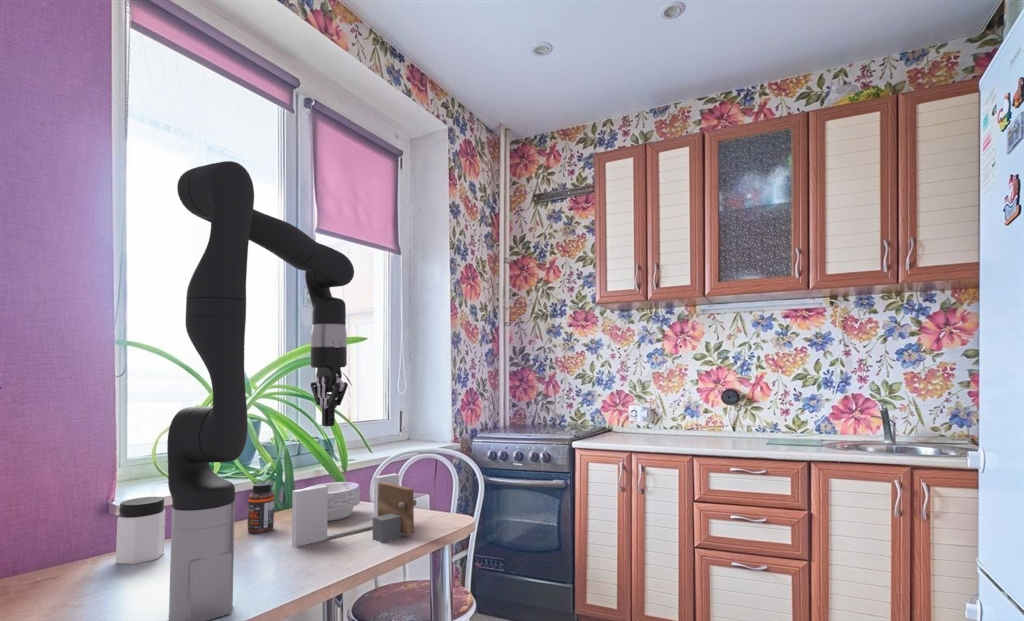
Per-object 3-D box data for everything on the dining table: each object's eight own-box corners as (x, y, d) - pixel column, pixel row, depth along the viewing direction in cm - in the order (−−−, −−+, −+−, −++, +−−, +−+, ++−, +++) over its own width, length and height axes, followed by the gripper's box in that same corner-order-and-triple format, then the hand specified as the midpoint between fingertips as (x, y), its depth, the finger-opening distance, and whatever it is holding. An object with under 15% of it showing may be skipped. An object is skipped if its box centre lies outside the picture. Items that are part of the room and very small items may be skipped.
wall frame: (399, 522, 148) (398, 474, 150) (295, 547, 130) (296, 491, 131) (394, 521, 150) (394, 473, 151) (291, 545, 131) (292, 490, 132)
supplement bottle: (241, 533, 142) (242, 485, 143) (259, 526, 148) (260, 481, 149) (262, 534, 140) (263, 486, 141) (278, 528, 146) (279, 481, 147)
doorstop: (401, 538, 135) (400, 516, 135) (382, 543, 131) (382, 520, 132) (391, 535, 138) (391, 513, 138) (372, 539, 134) (372, 517, 135)
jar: (125, 554, 127) (127, 497, 129) (167, 550, 130) (169, 494, 131) (110, 567, 119) (112, 506, 120) (155, 562, 121) (157, 503, 122)
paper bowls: (291, 517, 156) (291, 487, 157) (344, 507, 166) (344, 479, 167) (315, 528, 145) (315, 495, 146) (370, 516, 155) (370, 486, 156)
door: (385, 521, 146) (385, 480, 147) (417, 531, 136) (417, 488, 137) (371, 525, 143) (371, 483, 144) (403, 535, 133) (403, 490, 134)
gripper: (299, 346, 130) (298, 425, 128) (327, 344, 120) (326, 429, 118) (330, 347, 135) (330, 423, 133) (359, 344, 125) (359, 426, 124)
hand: (328, 426), depth 126 cm, fingers closed
